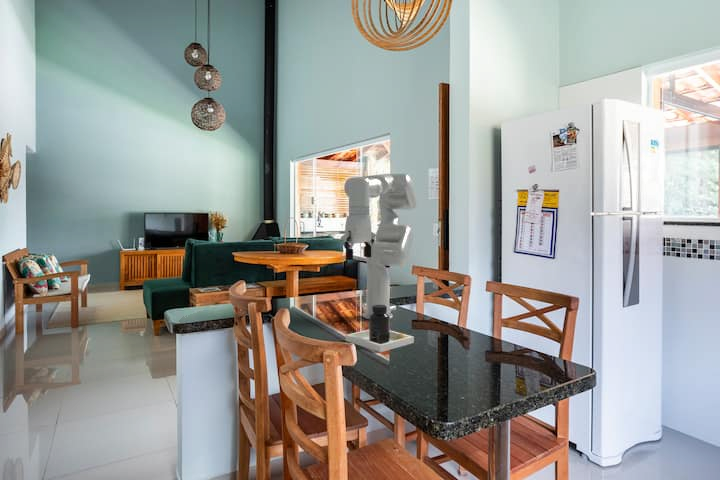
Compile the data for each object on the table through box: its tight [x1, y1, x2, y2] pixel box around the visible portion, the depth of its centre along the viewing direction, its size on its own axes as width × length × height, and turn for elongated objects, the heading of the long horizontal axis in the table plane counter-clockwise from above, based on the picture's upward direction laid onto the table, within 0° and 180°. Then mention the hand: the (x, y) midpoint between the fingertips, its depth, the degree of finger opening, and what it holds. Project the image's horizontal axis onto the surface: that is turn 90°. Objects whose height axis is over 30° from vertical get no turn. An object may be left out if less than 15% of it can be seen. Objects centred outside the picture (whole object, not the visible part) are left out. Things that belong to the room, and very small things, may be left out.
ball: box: [397, 332, 406, 340], centre depth 150 cm, size 3×3×3 cm
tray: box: [345, 329, 415, 353], centre depth 150 cm, size 16×16×3 cm
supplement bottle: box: [368, 305, 391, 344], centre depth 150 cm, size 7×7×12 cm
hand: (358, 258), depth 166 cm, fingers open, 9 cm apart
